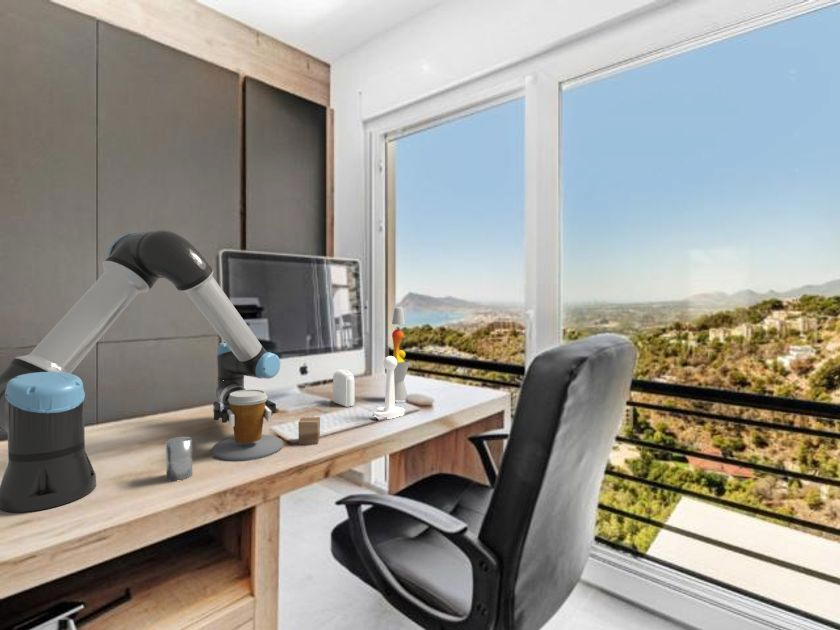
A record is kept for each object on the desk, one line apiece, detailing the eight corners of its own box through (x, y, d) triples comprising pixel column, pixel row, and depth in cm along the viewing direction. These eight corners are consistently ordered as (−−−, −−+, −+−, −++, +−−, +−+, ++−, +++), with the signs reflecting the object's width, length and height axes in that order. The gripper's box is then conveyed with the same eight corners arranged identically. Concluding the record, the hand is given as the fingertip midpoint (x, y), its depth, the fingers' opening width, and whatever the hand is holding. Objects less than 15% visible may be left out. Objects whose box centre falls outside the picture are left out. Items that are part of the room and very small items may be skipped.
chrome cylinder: (180, 482, 97) (180, 445, 97) (161, 479, 98) (160, 442, 98) (197, 473, 102) (197, 437, 102) (178, 470, 103) (178, 435, 103)
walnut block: (317, 444, 123) (317, 421, 122) (298, 444, 122) (298, 422, 122) (320, 438, 128) (320, 416, 127) (301, 438, 127) (301, 417, 127)
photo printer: (331, 402, 169) (331, 368, 169) (341, 400, 172) (341, 367, 171) (345, 408, 161) (345, 372, 161) (356, 406, 164) (356, 371, 163)
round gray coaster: (258, 464, 108) (258, 459, 108) (196, 456, 112) (196, 452, 112) (295, 441, 124) (295, 437, 124) (240, 435, 129) (240, 432, 129)
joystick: (381, 421, 145) (381, 358, 144) (366, 417, 150) (366, 355, 149) (406, 415, 152) (407, 355, 151) (391, 411, 158) (392, 353, 157)
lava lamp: (398, 404, 167) (399, 308, 165) (380, 400, 172) (381, 307, 171) (414, 400, 174) (415, 307, 172) (396, 396, 179) (397, 306, 178)
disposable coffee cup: (251, 431, 125) (250, 387, 124) (275, 437, 120) (275, 391, 119) (219, 441, 117) (219, 394, 116) (245, 448, 112) (244, 399, 111)
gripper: (273, 408, 139) (294, 427, 119) (196, 417, 128) (205, 440, 109) (273, 383, 138) (294, 399, 119) (196, 390, 128) (205, 408, 108)
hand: (251, 418), depth 114 cm, fingers closed on disposable coffee cup, 8 cm apart
